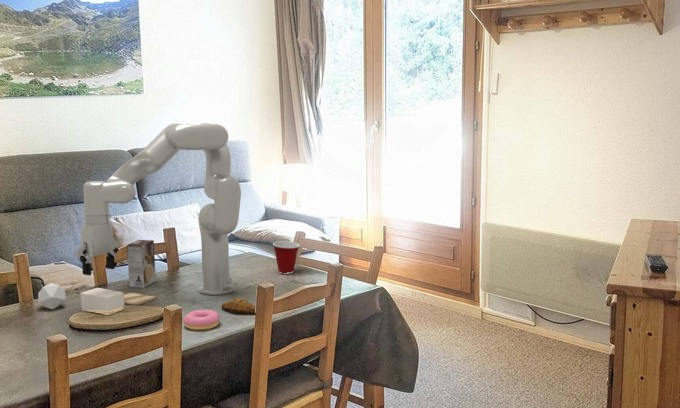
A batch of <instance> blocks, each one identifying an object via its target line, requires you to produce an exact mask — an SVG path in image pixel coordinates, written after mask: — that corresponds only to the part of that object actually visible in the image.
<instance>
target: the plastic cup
mask: <svg viewBox="0 0 680 408" xmlns="http://www.w3.org/2000/svg"><path fill="white" fill-rule="evenodd" d="M272 246H273V249H274V252H275V253H274V254H275V258H276V264H277V271H278V273H279V272H282V273H287V272H292V271H295V265H296V259H297V255H298V251H299V248H300V247H301V245H300V243H298V242H294V241H285V240H284V241H282V240H281V241H280V240H279V241H274V242H273V243H272Z"/></svg>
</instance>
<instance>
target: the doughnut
mask: <svg viewBox="0 0 680 408" xmlns="http://www.w3.org/2000/svg"><path fill="white" fill-rule="evenodd" d="M183 318H184V319H183V323H184V326H185V327H186V328H188V329H189V330H192V331H207V330H210V329H214V328H216V327H217V326H218V325H219V323H220V320H221V316H220V314H219V312H217V311H215V310H212V309H198V310H197V309H196V310H192V311H190V312H188V313H186V314H185V316H184V317H183Z"/></svg>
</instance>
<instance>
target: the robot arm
mask: <svg viewBox="0 0 680 408" xmlns="http://www.w3.org/2000/svg"><path fill="white" fill-rule="evenodd" d="M228 141H229V133H228V130H227V129H226V128H225V127H224V126H223V125H221V124H216V123H207V122H206V123H205V122H204V123H201V124H200V123H199V124H189V123H188V124H187V123H185V124H184V123H171V124H169V125H167V126H166V127H165V128H163V130H161V132H159V133H158V135H157V136H155V137H154V138H153V139H152V140H151V141H150V142H149V143H148V144H147V145H146V146H145V147H144V148H143V149H141V151H140V152H139V153H137V154H136V155H134V156H133V157H132V158H131V159H129V160H128V161H126V162H125V163H124V164H122V165H121V166H120V167H119V168H118V169H117V170H116V171H115V172H114V173H113V174H111V176H109V178H108V179H107V180H106V181H102V180H90V181H86V182H85V183H84V184H83V209H84V210H83V211H84V213H83V214H84V224H82V227H81V232H80V246H79V247H78V248H77V249H76V250H75V251H74V254H75V255H76V257H77V259H78V260H79V262H80V263H81V265H82V275H85V276H91V275H92V263H91V262H90V261H91V260H92V257H97V256H101V255H106V257H105V263H106V265H105V266H106V269H108V270H109V269H110V270H115V268H116V264H115V263H116V262H115V257H117V253H118V252H119V248H120V244H121V242H120V241H118V240H116V239H114V232H113V227H112V222H110V219H111V217H112V216H111V214H110V204H119V205H121V204H122V205H123V204H128V203H130V202H131V201H133V199H134V198H135V196H136V189H135V186H134V185H135V184H136V183H138V182H139V181H140V180H142V179H143V178H144V177H146V176H149V175H152V174H154V173H157V172H158V171H160V170H162V168H164V166H165V165H166V164H167V163H169V162H170V160H172V158H173V157H175V155H177V153H178V152H180V151H181V150H183V151H184V150H185V151H203V152H204V154H205V160H206V161H205V162H206V163H205V165H206V166H205V167H206V168H205V176H204V185H203V187H204V194H205V196H206V197H207V198H209V199H211V200H212V201H214V203H208V204H205V205H204V206H202V207H201V209H200V211H199V213H198V217H197V218H198V227H199V231H200V239H201V240H200V241H201V242H200V244H201V245H200V246H201V267H202V268H201V269H202V270H201V271H202V285H201V286H199V287H198V293H200V294H203V295H208V296H219V295H225V294H226V295H227V294H229V293H232V292H233V291H235V290H236V289H237V286H238V283H237V282H234V281H233V278H232V277H230V256H229V253H230V252H229V249H230V248H229V236H228V235H229V234H232V233H233V232H234V231H235V230H236V228H237V227H238V224H239V218H240V210H241V208H240V207H241V196H242V188H241V185H240V183H239V181H238V180H237V179H236V178H235V177H233V176H232V175H231V164H232V160H231V158H232V157H231V152H230V149H229V147H228V145H227V143H228Z"/></svg>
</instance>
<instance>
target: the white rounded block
mask: <svg viewBox="0 0 680 408" xmlns="http://www.w3.org/2000/svg"><path fill="white" fill-rule="evenodd" d="M124 294H125V293H124V292H123V291H118V290H113V289H107V288H101V287H95V288H92V289H89V290H85V291H83V292H80V303H81V304H80V305H81V307H80V308H81V312H86V310H102V311H111V310H113V309H116V308H119V307H123V306H124V307H125V303H124Z"/></svg>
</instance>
